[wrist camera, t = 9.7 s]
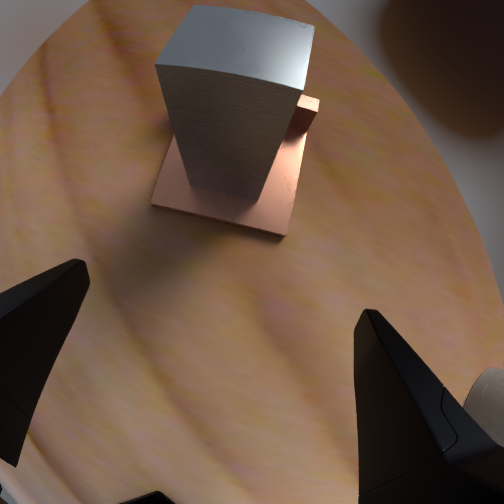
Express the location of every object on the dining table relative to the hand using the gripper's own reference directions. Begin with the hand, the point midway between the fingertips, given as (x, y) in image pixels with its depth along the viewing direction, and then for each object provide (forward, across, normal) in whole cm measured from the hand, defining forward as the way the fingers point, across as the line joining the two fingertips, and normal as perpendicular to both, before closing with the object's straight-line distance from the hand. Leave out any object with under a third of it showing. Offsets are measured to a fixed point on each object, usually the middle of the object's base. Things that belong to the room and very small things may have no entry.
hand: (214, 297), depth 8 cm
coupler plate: (+15, +2, 0) cm, 16 cm away
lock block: (+14, +2, 0) cm, 14 cm away
